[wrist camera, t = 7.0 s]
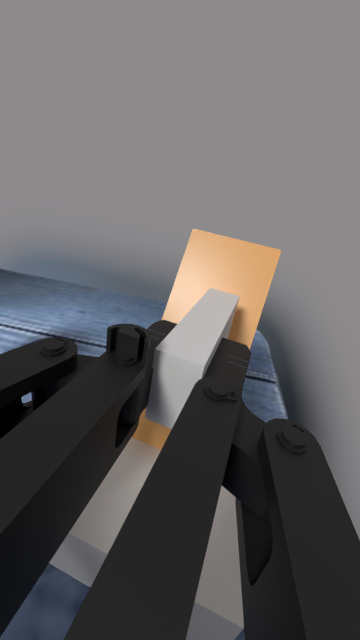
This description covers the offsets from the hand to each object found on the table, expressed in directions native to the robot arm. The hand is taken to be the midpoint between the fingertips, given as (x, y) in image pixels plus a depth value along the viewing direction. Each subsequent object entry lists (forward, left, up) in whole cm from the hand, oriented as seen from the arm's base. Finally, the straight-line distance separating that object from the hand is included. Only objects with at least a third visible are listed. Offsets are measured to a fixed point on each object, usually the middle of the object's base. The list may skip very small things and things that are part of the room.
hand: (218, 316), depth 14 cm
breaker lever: (+2, -2, -8) cm, 8 cm away
